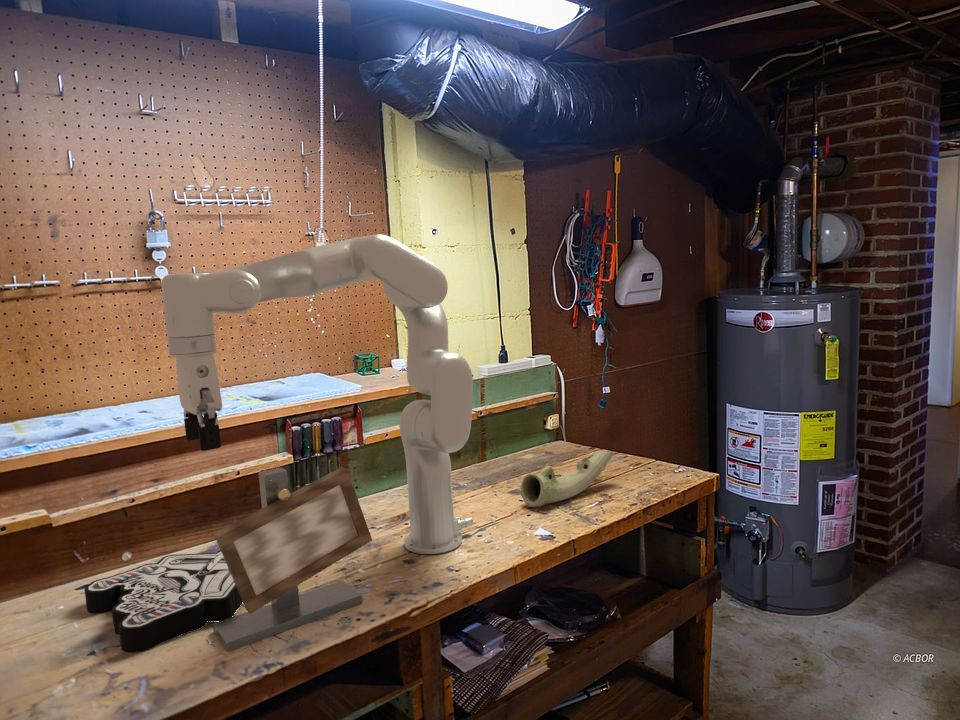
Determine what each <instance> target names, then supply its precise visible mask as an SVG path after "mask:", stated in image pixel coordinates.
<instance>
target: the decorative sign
mask: <svg viewBox="0 0 960 720" xmlns="http://www.w3.org/2000/svg"><path fill="white" fill-rule="evenodd" d="M84 598H85V604H86V611H87V612H88V613H89V614H106V613H109V612H111V614H112V621H113V630H114V634H116V635H119V636H118V637H119V644H120V649H121V651H122V652H124V653H128V654H131V653H132V654H133V653H143V652H146V651H148V650H151V649H152V648H154V647H156V646H158V645H160V644H163V643H165V642H167V640H168V641H170V640H172V638H173V639H175V638H177V636H178V637H180V636H182V635H181V634H183V635H185V634H187V632H188V633H190V632H189V631H192V632H195V631H197V629H198V630H200V629H202V628H203V627H202V626H204V625H205V626H206V624H205V623H206V622H207V621H208V623H212V622H211V621H222V620H225V619H228V618H231V617H232V616H233V615H234V613H235V612H236V610H237V609H238V608H239V607H240V608H241V606H242V605H243V604H242V602H243V601H242V598H241V596H240V594H239V591H238V589H237V587H236V584H235V582H234V580H233V578H232V575H231V573H230V571H229V568H228V566H227V564H226V561H225V559H224V557H223V554H222V552H221V550H220V549H219V551H218V550H217V552H207V553H206V552H203V553H185V554H184V553H183V554H182V553H181V554H169V555H168V554H167V555H165V556H163V557H162V558H160V559H159V561H157V562H154V563H153V562H152V563H151V562H150V563H146V564H143V565H139V566H138V567H136V568H133V569H129V570H126V571H123V572H119V573H116V574H113V575H110V576H108V577H102V578H99V579H95V580H93V581H91V582H90V583H88V584H87V585H86V586H85V587H84ZM241 604H242V605H241ZM240 605H241V606H240ZM240 608H239V609H240ZM239 609H238V610H239ZM236 613H237V612H236ZM236 613H235V614H236ZM234 616H235V615H234ZM234 616H233V617H234ZM209 621H210V622H209ZM205 626H204V627H205ZM201 627H202V628H201ZM199 628H200V629H199ZM194 630H195V631H194ZM184 633H185V634H184ZM179 635H180V636H179ZM169 639H170V640H169ZM162 642H163V643H162Z"/></svg>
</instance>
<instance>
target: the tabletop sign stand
mask: <svg viewBox="0 0 960 720" xmlns="http://www.w3.org/2000/svg"><path fill="white" fill-rule="evenodd" d="M258 481H259V490H260V491H259V492H260V503H261V509H262V508H264V507H266V506H268V505H270V504H272V503H274V502H276V501H278V500H281V501H286V500H288V499H289V498H290V494H291V492H290V489H289V487H290V486H289V477H288V470H286V469H285V468H283V467H277V468H271V469H267V470H263V471H258ZM361 604H363V595H362V594H361V593H360V592H359V591H358V590H356V589H355V587H352V586H351V585H350V584H349V583H348V582H346V581H345V580H344V579H342V580H339V581H337V582H336V581H335V582H333V583H330V584H327V585H324V586H322V587H319V588H315V589H312V590H309V591H306V592H303V593H300V594H299V585H298V586H296V587H294V588H293V589H291V590H289V591H288V592H286V593H284V594H283V595H281V596H279V597H278V598H276V599H274V600H273V601H271V602H270V604H266V605H264V606H263V607H261V608H259V609H258V610H256V611H255V612H253V613H251V614H250V613H249V612H248V611H247V612H243V613H240V614H238V615H234V616H233V617H231V618H228V619H225V620H222V621H219V622H212V628H213V629H212V630H213V633H214V634H215V636H216V637H217V639H218V640H219V641H220V643H221V644H223V645H222V646H223V648H224V649H225V650H226V652H230V650H231V651H234V650H236V649H239V648H241V647H245V646H248V645H249V644H252V643H255V642H258V641H260V640H264V639H266V638H269V637H272V636H274V635H275V636H276V635H278V634H280V633H283V632H286V631H288V629H289V630H292V629H294V628H297V627H300V626H302V625H305V624H308V623H310V622H313V621H316V620H319V619H321V618H322V619H323V618H325V617H328V616H330V615H333V614H336V613H338V612H341V611H344V610H347V609H349V608H352V607H355V606H358V605H361Z"/></svg>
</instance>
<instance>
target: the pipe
mask: <svg viewBox="0 0 960 720" xmlns="http://www.w3.org/2000/svg"><path fill="white" fill-rule="evenodd" d="M613 457H614V452H613V451H610V450H607V449H602V450H599V451H596V452H595V453H594V454H593V455H592V456H590V458H588V457H586V456H582V457H580V459H578V461H577V463H576V469H575V470H572V471H570V472H568V473H567V474H564V475H562V476H558V477H556V475H555V471H554V468H553V467H552V466H551V465H546V466H545V467H543V468H542V469H541V470H540V471H539V472H538V473H530V474H527V475H525V476H524V477H523V479H522V480H521V484H520V495H521V497H522V500H523V502H524V503H525V504H526V506H528V507H531V508H537V507H538V508H540V507H543V506H545V505H549V504H553V503H558V502H561V501H565V500H568V499H570V498H572V497H575V496H576V495H578V494H581V492H583V491H585V490H586V489H588V487H590V485H592V484H593V483H594V482H595V481H596V480H597V479H598V478H599V477H600V475H601V474H603V472H604V470H605V469H606V467H607V466H608V464H609V463H610V461H611V459H612V458H613Z"/></svg>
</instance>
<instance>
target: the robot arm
mask: <svg viewBox="0 0 960 720" xmlns="http://www.w3.org/2000/svg"><path fill="white" fill-rule="evenodd" d="M372 280H373V281H375V280H377V281H381V282H382V290H383V293H384V295H385V297H386V298H387V300H388V301H389V302H390V303H391V304H393V305H394V306H395V307H396V308H397V309H398V310H399V312H401V314H402V316H403V318H404V321H405V323H406V328H407V356H406V358H407V359H406V360H407V361H406V379H407V383H408V385H409V386H410V388H411V389H412V390H413V391H415V392H417V393H420V394H424V395H428V396H430V400H429V399H416V400H413V401H411V402H410V403H408V404H407V405H406V406H405V407H404V408H403V410H402V411H401V413H400V417H399V433H400V438H401V440H402V446H403V450H404V457H405V465H406V468H405V469H406V479H407V480H406V482H407V497H408V511H409V513H408V514H409V524H410V525H409V526H410V527H409V528H410V533H409V534H407V535H406V536H405V537H404V541H403V542H404V544H403V545H404V547H405V549H406V550H408V551H410V552H411V553H414V554H418V555H419V554H420V555H436V554H437V555H438V554H443V553H447V552H450V551H452V550H455V549H457V548H458V547H459V546H460V545H461V544H462V543H463V534H462V532H460V531H462V529H463V528H467V527H470V526H473V524H474V519H473V518H472V517H471V516H467V517H465V518H464V517H463V519H462V517H461V516H456V517H455V513H454V501H453V500H454V499H453V483H452V481H453V480H452V463H451V456H450V454H451V453H456V452H458V451H460V450H461V449H462V448H464V447H465V445H466V443H467V441H468V440H469V437H470V435H471V430H472V429H471V428H472V419H473V417H472V416H473V394H474V393H473V390H474V388H473V386H474V383H473V382H474V380H473V372H472V369H471V367H470V365H469V363H468V361H467V360H466V359H465V357H463V356H462V355H460V354H458V353H457V352H454V351H453V352H452V351H449V326H448V325H449V324H448V318H447V315H446V311H445V309H444V308H443V306H442V304H441V303H442V302H443V301H445V299H446V297H447V294H448V285H449V284H448V281H447V278H446V275H445V274H444V272H443V271H442V270H441V269H440V267H438V266H437V265H435V264H433V263H432V262H431V261H429V260H428V259H426V258H425V257H423V256H421V255H419V254H418V253H417V252H415V250H413V249H410V248H409V247H408V246H406V245H405V244H403V243H401V242H400V241H398V240H396V239H394V238H393V237H390V236H388V235H386V234H380V233H379V234H377V233H376V234H370V235H363V236H357V237H352V238H349V239H347V238H346V239H344V240H339V241H335V242H331V243H327V244H322V245H318V246H314V247H309V248H304V249H299V250H296V251H292V252H289V253H285V254H282V255H279V256H276V257H272V258H268V259H264V260H260V261H257V262H251V263H248V264H247V263H246V264H243V265H238V266H235V267H234V266H233V267H229V268H226V269H222V270H217V271H214V272H212V273H206V274H205V273H201V272H187V273H184V272H183V273H173V274H172V273H171V274H167V275H164V277H162V279H161V282H160V286H161V288H160V289H161V295H162V303H163V304H162V305H163V313H164V314H163V315H164V320H165V321H164V323H165V330H166V338H167V346H168V356H169V358H175V366H176V379H177V387H178V388H177V389H178V397H179V403H180V405H181V408H182V409H183V423H184V431H185V439H186V440H187V441H188V442H189V441H194V440H199V448H200V450H201V451H202V452H205V451H210V450H211V451H212V450H216V449H220V448H221V447H222V443H221V435H220V425H219V419H218V413H217V412H220V411H222V409H223V400H222V394H221V387H220V381H219V376H218V375H219V374H218V369H217V365H216V360H215V356H214V354H217V353H218V350H217V342H216V334H215V333H216V331H215V323H214V315H213V314H214V313H222V314H223V313H224V314H225V313H226V314H243V313H246V312H248V311H250V310H252V309H253V308H255V307H256V306H257V305H258V303H261V302H267V301H272V300H278V299H285V298H301V297H308V296H312V295H313V296H315V295H318V294H321V293H324V292H325V293H326V292H328V291H332V290H336V289H340V288H342V287H346V286H350V285H354V284H358V283H361V282H366V281H372Z"/></svg>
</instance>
